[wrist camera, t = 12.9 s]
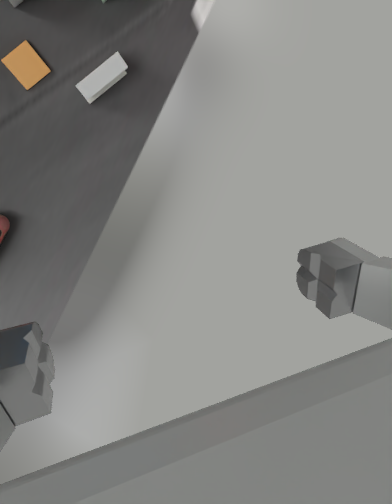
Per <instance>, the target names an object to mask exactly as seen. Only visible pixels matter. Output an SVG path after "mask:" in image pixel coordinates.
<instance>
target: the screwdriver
mask: <svg viewBox="0 0 392 504" xmlns="http://www.w3.org/2000/svg"><path fill="white" fill-rule="evenodd" d="M9 226H10V224H9V220H8V219H7V218H6V217H5V216H3V215H0V247H1V245H2V243H3V240H4V238H5V236H6V234H7V232H8V230H9Z"/></svg>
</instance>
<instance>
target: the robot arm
mask: <svg viewBox="0 0 392 504" xmlns="http://www.w3.org/2000/svg"><path fill="white" fill-rule="evenodd" d="M298 262H299V264H300V265H301V267H300V268H299V270H298V272H297V284H298V287H299V290H300V291H301V293H302V294H303V295H304V296H305V297H306V298H307V299H310V300H313V301H316V307H317V308H318V309H319V310H320V311H321V312H322V313H323V314H325V315H326V316H327V317H328V318H329V319H331V318H335V317H338V316H341V315H344V314H348V313H351V312H353V314H356V315H358V316H361V317H363V318H365V319H368V320H370V321H373V322H375V323H377V324H380V325H382V326H385V327H387V328H390V329H392V258H389V257H380V258H379V257H377V256H376V255H374V254H372V253H370V252H368V251H366V250H365V249H363V248H361V247H359V246H357V245H356V244H354V243H352V242H350V241H348V240H347V239H345V238H337V239H334V240H331V241H328V242H325V243H322V244H318V245H315V246H312V247H308V248H305V249H301V250H300V251H299V253H298ZM42 335H43V332H42V330H41V328H40V326H39V324H38V323H37V322H31V323H27V324H23V325H19V326H15V327H11V328H7V329H3V330H0V451H1V450H2V448H3V447H4V445H5V444H6V442H7V440H8V439H9V437H10V436H11V434H12V433H13V431H14V430H15V426H18V425H20V424H23V423H26V422H29V421H31V420H34V419H36V418H39V417H42V416H45V415H48V414H50V413H51V408H52V397H53V391H52V389H51V387H50V383H51V382H52V380H53V379H54V372H55V368H54V360H53V356H52V353H51V350H50V348H49V345H48V344H46V343H44V342H42ZM0 504H392V338H391V339H388V340H385V341H383V342H380V343H377V344H375V345H372V346H369V347H367V348H364V349H361V350H359V351H356V352H353V353H350V354H348V355H345V356H343V357H340V358H337V359H334V360H332V361H329V362H326V363H324V364H321V365H318V366H316V367H313V368H310V369H307V370H305V371H302V372H299V373H297V374H294V375H291V376H289V377H286V378H283V379H281V380H278V381H275V382H273V383H270V384H267V385H265V386H262V387H259V388H257V389H254V390H251V391H249V392H246V393H244V394H241V395H238V396H235V397H233V398H230V399H227V400H225V401H222V402H219V403H217V404H214V405H211V406H209V407H206V408H203V409H201V410H198V411H196V412H193V413H190V414H188V415H185V416H182V417H180V418H177V419H174V420H171V421H169V422H166V423H163V424H161V425H158V426H156V427H153V428H150V429H147V430H145V431H142V432H139V433H137V434H134V435H132V436H129V437H126V438H123V439H120V440H118V441H115V442H112V443H110V444H107V445H104V446H102V447H99V448H97V449H94V450H91V451H88V452H86V453H83V454H80V455H78V456H75V457H72V458H70V459H67V460H64V461H62V462H59V463H56V464H54V465H51V466H48V467H46V468H43V469H40V470H38V471H35V472H33V473H30V474H27V475H24V476H22V477H19V478H16V479H14V480H11V481H8V482H6V483H3V484H0Z"/></svg>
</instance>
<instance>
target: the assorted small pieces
mask: <svg viewBox="0 0 392 504" xmlns="http://www.w3.org/2000/svg"><path fill="white" fill-rule="evenodd" d="M8 1H9V2H10V3H11V4H12V6H13V7H14V8H15V7H17V6H18V5H19V4H20V3H21V2H23V1H24V0H8ZM106 1H107V0H102V2H103V4H104V3H105V2H106ZM1 61H2V62H3V63H4V64H5V66H6V67H7V68H8V69H9V70H10V71H11V72H12V74H13V75H14V76H15V77H16V78H17V79H18V80H19V81H20V83H21V84H22V85H23V86H24V87H25V88H26V89H27V90H29V89H30V88H31V87H32V86H34V85H35V84H36V83H37V82H38V81H40V80H41V79H42V78H43V77H45V76H46V75H47V74H48V73H50V72H51V70H50V69H49V68H48V67H47V65H46V64H45V63H44V62H43V60H42V59H41V58H40V57H39V56H38V54H37V53H36V52H35V51H34V49H33V48H32V47H31V46H30V44H29V43H28V42H27V41H26V40H25V41H24V42H23V43H21V44H20V45H19V46H18V47H17V48H15V49H14V50H13V51H12V52H10V53H9V54H8V55H7V56H6V57H4V58H3V59H2V60H1ZM127 68H128V66H127V65H126V63H125V62H124V60H123V59H122V57H121V56H120V54H119V53H118V51H117V52H116V53H115V54H114V55H113V56H111V57H110V58H109V59H108V60H106V61H105V62H104V63H103V64H101V65H100V66H99V67H98V68H97V69H95V70H94V71H93V72H92V73H90V74H89V75H88V76H87V77H85V78H84V79H83V80H82V81H81V82H79V83H78V84H77V85H76V87H77V88H78V90H79V91H80V92H81V93H82V95H83V96H84V97H85V99H86V100H87V101H88V102H89V104H90V103H92V102H93V101H94V100H95V99H96V98H98V97H99V96H100V95H101V94H103V93H104V92H105V91H106V90H108V89H109V88H110V87H111V86H113V85H114V84H115V83H116V82H117V81H119V80H120V79H121V78H122V77H124V76H125V75H126V74H127V73H126V71H125V69H127Z"/></svg>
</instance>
